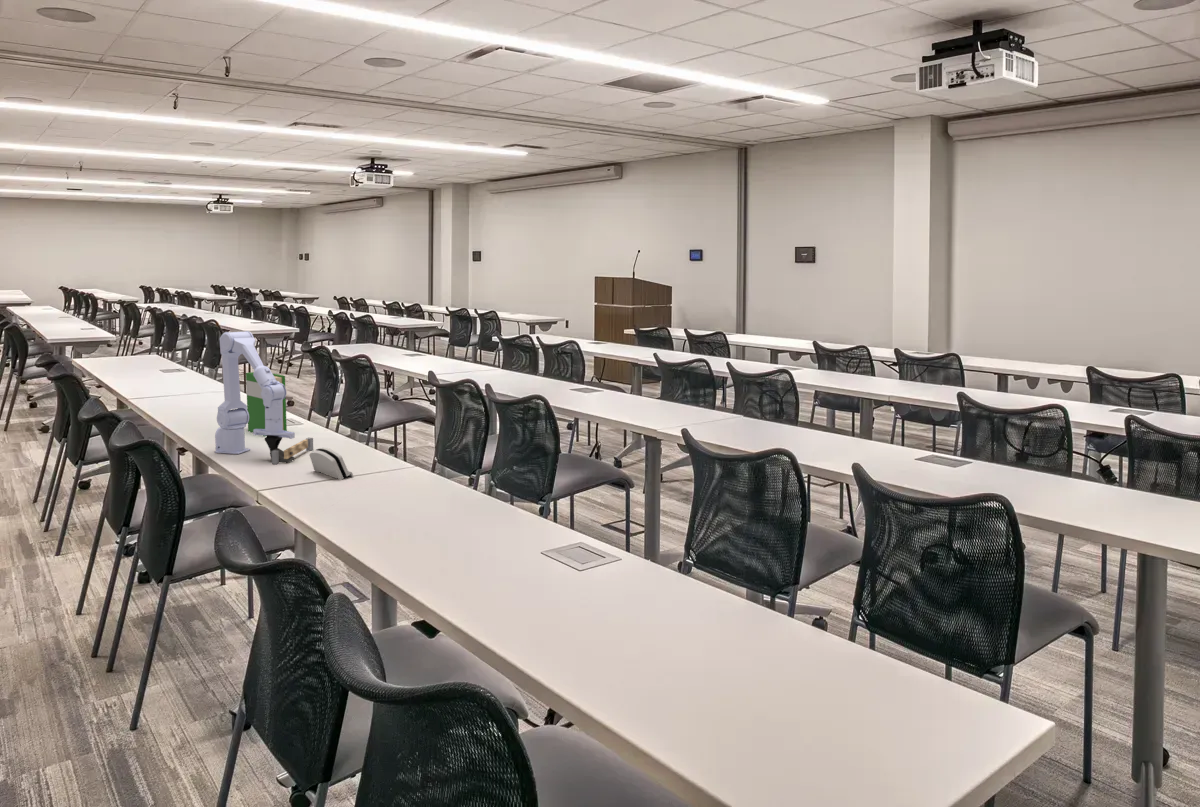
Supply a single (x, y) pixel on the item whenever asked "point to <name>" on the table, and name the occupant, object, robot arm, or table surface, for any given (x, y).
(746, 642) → the table surface
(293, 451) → the gate
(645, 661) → the table surface
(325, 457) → the grey arched piece
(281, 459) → the wedge
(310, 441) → the pair of grey posts
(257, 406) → the hardback book
